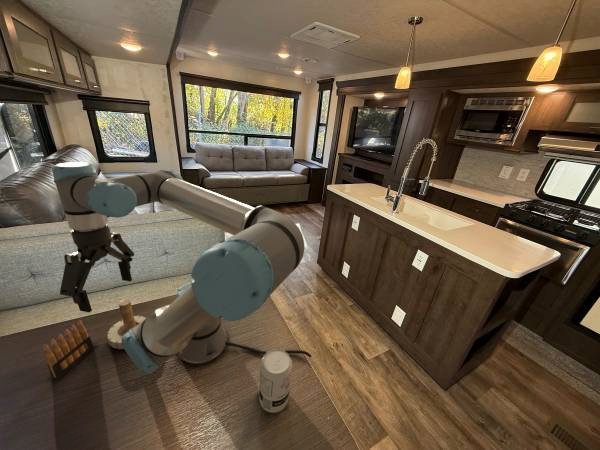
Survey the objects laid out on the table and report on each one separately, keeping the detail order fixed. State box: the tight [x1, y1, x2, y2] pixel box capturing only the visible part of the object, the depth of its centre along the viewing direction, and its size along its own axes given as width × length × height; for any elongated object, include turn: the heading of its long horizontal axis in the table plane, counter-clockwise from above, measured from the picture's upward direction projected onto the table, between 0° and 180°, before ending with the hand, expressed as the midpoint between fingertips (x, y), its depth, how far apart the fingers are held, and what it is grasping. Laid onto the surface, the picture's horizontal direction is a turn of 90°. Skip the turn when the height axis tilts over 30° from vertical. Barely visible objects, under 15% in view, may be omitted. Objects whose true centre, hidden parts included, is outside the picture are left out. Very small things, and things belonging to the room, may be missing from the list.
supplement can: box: [258, 348, 293, 414], centre depth 65 cm, size 8×8×15 cm
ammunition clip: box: [43, 319, 95, 380], centre depth 70 cm, size 11×2×12 cm, turn 169°
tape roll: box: [107, 315, 147, 350], centre depth 81 cm, size 11×11×3 cm
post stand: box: [107, 298, 136, 346], centre depth 80 cm, size 9×9×14 cm
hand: (108, 294), depth 70 cm, fingers open, 13 cm apart
